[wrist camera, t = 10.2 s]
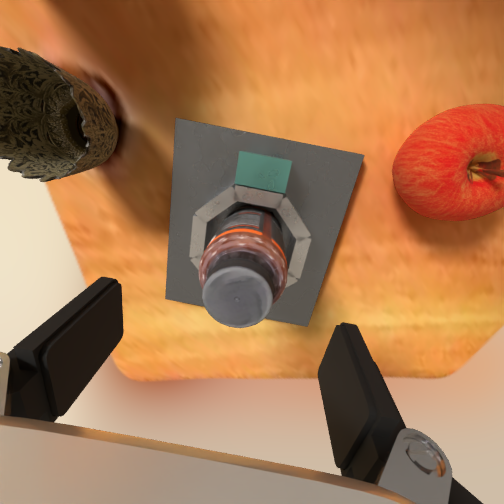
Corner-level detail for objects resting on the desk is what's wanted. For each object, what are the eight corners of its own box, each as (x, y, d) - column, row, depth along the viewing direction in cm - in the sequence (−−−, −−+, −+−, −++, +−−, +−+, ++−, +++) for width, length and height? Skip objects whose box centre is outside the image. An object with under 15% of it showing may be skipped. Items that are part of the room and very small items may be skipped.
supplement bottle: (209, 225, 24) (160, 281, 14) (261, 192, 23) (252, 226, 12) (243, 273, 26) (223, 356, 15) (294, 245, 24) (310, 315, 14)
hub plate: (180, 119, 22) (161, 112, 18) (359, 154, 22) (378, 155, 18) (169, 293, 29) (153, 315, 25) (306, 319, 29) (311, 346, 25)
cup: (70, 62, 21) (-39, 15, 14) (153, 106, 22) (92, 84, 14) (56, 149, 24) (-41, 149, 16) (130, 185, 25) (70, 200, 17)
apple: (500, 145, 21) (624, 142, 14) (428, 224, 24) (498, 257, 17) (427, 90, 20) (518, 55, 13) (360, 180, 23) (404, 194, 15)
